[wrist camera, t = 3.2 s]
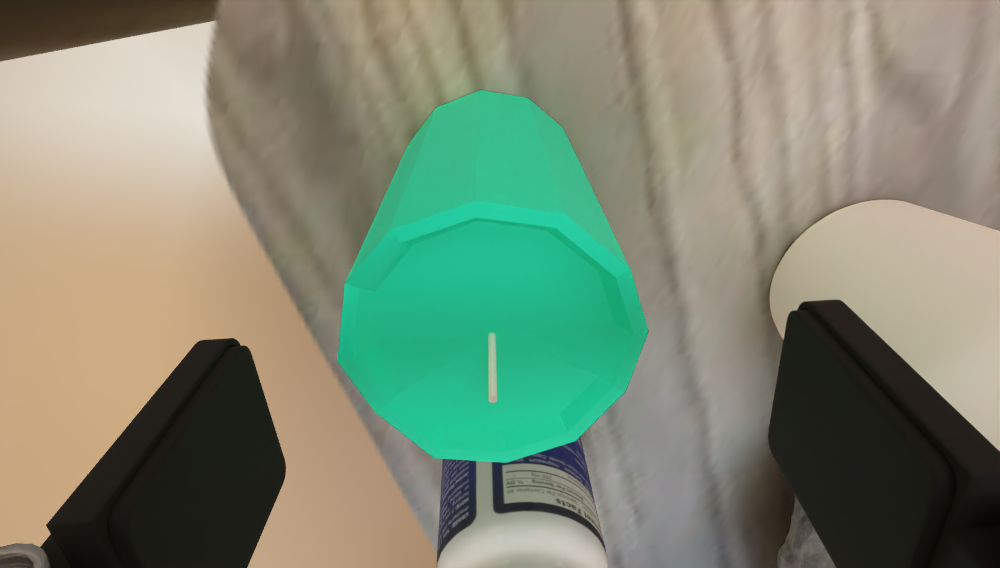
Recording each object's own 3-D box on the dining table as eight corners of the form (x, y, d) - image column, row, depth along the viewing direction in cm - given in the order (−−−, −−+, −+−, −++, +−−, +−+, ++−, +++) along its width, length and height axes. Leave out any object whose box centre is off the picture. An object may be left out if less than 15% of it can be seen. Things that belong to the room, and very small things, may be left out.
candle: (511, 50, 19) (542, 153, 8) (609, 198, 21) (732, 428, 11) (366, 160, 20) (234, 368, 10) (472, 287, 23) (459, 566, 12)
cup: (702, 238, 22) (905, 492, 11) (959, 117, 20) (1490, 284, 9) (774, 408, 26) (977, 719, 15) (996, 320, 24) (1407, 603, 13)
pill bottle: (487, 496, 28) (491, 743, 19) (419, 413, 25) (386, 652, 17) (600, 447, 27) (659, 687, 18) (539, 355, 24) (572, 580, 15)
